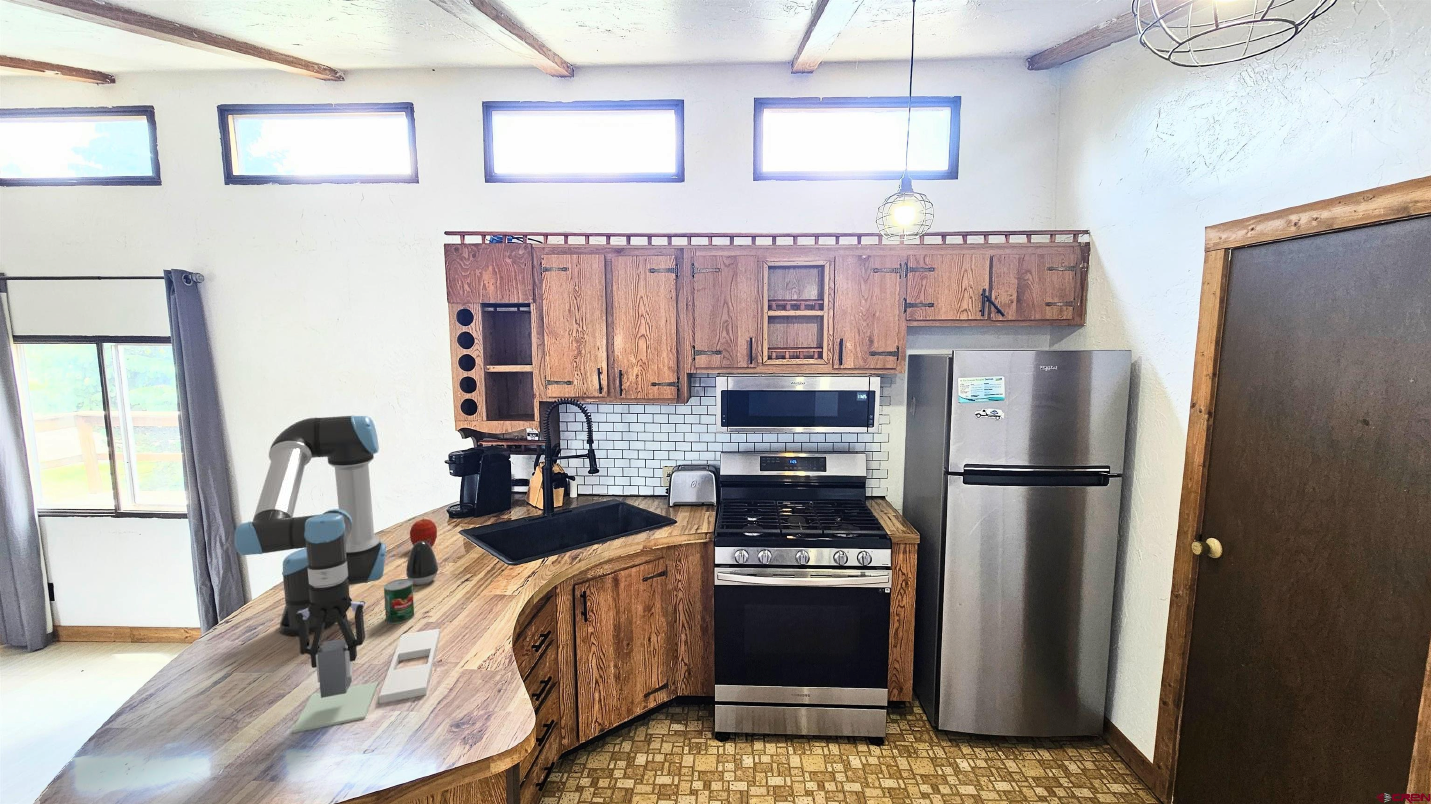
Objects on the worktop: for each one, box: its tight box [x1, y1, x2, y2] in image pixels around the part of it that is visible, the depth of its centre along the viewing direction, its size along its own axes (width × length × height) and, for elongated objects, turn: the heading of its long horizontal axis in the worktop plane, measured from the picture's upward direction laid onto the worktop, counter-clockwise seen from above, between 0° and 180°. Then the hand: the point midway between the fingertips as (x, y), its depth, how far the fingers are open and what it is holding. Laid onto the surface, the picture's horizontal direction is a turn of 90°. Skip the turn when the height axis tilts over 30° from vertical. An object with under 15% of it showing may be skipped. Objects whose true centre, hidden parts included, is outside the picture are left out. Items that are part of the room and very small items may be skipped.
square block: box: [317, 638, 353, 698], centre depth 131 cm, size 5×5×11 cm
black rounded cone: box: [405, 539, 439, 586], centre depth 201 cm, size 10×10×15 cm
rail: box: [378, 628, 441, 704], centre depth 149 cm, size 10×30×2 cm, turn 20°
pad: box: [291, 681, 379, 734], centre depth 132 cm, size 14×14×1 cm
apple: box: [409, 518, 438, 548], centre depth 232 cm, size 10×10×14 cm
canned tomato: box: [383, 578, 415, 625], centre depth 175 cm, size 8×8×11 cm
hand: (335, 676), depth 131 cm, fingers closed on square block, 5 cm apart
